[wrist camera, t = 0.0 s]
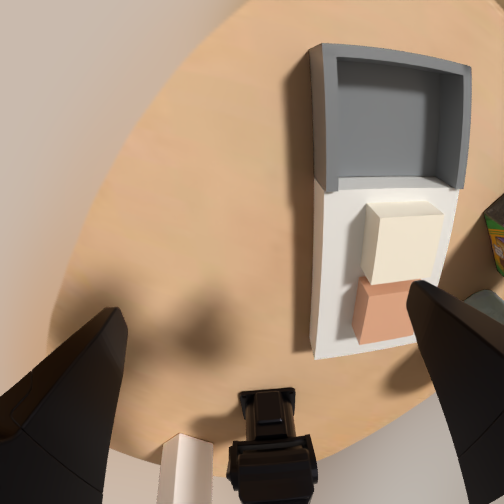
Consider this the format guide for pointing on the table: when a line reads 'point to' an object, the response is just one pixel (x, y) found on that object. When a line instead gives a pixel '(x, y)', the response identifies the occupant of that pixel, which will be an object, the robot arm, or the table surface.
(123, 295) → the table surface
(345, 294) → the board
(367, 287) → the tile
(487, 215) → the chalk box
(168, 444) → the milk
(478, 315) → the robot arm
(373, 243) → the tile
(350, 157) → the tray
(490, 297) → the grey-blue cup
